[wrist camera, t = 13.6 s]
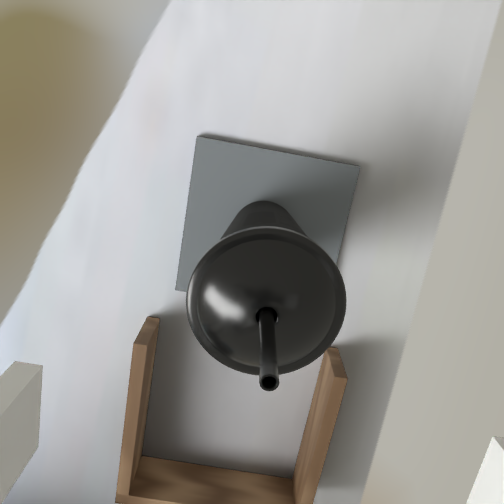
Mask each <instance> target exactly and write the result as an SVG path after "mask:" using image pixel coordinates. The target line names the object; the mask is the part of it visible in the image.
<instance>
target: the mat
mask: <svg viewBox="0 0 504 504" xmlns="http://www.w3.org/2000/svg"><path fill="white" fill-rule="evenodd" d="M359 171H360V166H356V165H351V164H345V163H340V162H334V161H329V160H324V159H318V158H313V157H308V156H302V155H297V154H291V153H286V152H281V151H275V150H270V149H265V148H259V147H254V146H248V145H243V144H238V143H232V142H227V141H222V140H216V139H211V138H205V137H200V136H197V138H196V145H195V152H194V160H193V167H192V174H191V181H190V188H189V195H188V202H187V209H186V217H185V224H184V231H183V238H182V245H181V252H180V259H179V266H178V274H177V281H176V288H175V290H178V291H184V292H187V288H188V284H189V280H190V277H191V275H192V272H193V270H194V268H195V266H196V265H197V263H198V261H199V260H200V259H201V257H202V256H203V255H204V254H205V252H206V251H207V250H208V249H209V248H210V247H212V246H213V245H214V244H215V243H216V242H218V241H219V240H220V239H221V237H222V236H223V234H224V233H225V231H226V230H227V228H228V227H229V225H230V224H231V222H232V221H233V219H234V218H235V217H236V215H237V214H238V212H239V211H240V210H241V209H242V208H244V207H245V206H246V205H248V204H250V203H253V202H257V201H270V202H274V203H277V204H279V205H280V206H282V207H283V208H285V209H286V210H287V211H288V213H289V214H290V215H291V216H292V218H293V219H294V220H295V221H296V223H297V224H298V225H299V226H300V228H301V229H302V230H303V231H304V232H305V234H306V235H307V236H308V237H309V238H310V239H312V240H313V241H315V242H316V243H317V244H319V245H320V246H321V247H322V248H323V249H324V250H325V251H326V252H327V253H328V254H329V255H330V256H331V258H332V259H333V261H334V262H335V264H336V263H337V259H338V255H339V251H340V247H341V243H342V239H343V235H344V231H345V227H346V223H347V219H348V215H349V211H350V207H351V203H352V199H353V195H354V191H355V187H356V183H357V179H358V175H359Z"/></svg>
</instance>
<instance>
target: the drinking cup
mask: <svg viewBox="0 0 504 504" xmlns="http://www.w3.org/2000/svg"><path fill="white" fill-rule="evenodd" d="M186 309H187V316H188V320H189V323H190V326H191V328H192V331H193V333H194V335H195V336H196V338H197V340H198V341H199V343H200V344H201V345H202V346H203V348H204V349H205V350H206V351H207V352H208V353H209V354H210V355H211V356H212V357H214V358H215V359H216V360H218V361H219V362H221V363H222V364H224V365H226V366H228V367H230V368H232V369H234V370H237V371H240V372H243V373H247V374H252V375H259V383H260V386H261V388H262V389H264V390H266V391H273V390H275V389H276V388H277V387H278V385H279V375H280V374H285V373H289V372H292V371H295V370H298V369H300V368H302V367H304V366H306V365H308V364H310V363H311V362H313V361H314V360H316V359H317V358H318V357H320V356H321V355H322V354H323V353H324V352H325V351H326V350H327V349H328V348H329V347H330V345H331V344H332V343H333V341H334V340H335V338H336V337H337V335H338V333H339V331H340V329H341V327H342V324H343V321H344V317H345V312H346V291H345V285H344V282H343V279H342V276H341V274H340V271H339V269H338V267H337V266H336V264H335V262H334V261H333V259H332V258H331V256H330V255H329V254H328V253H327V252H326V251H325V250H324V249H323V248H322V247H321V246H320V245H319V244H317V243H316V242H315V241H313V240H312V239H310V238H309V237H308V236H307V235H306V234H305V232H304V231H303V230H302V229H301V228H300V226H299V225H298V224H297V223H296V221H295V220H294V219H293V218H292V216H291V215H290V214H289V213H288V211H287V210H286V209H285V208H283V207H282V206H280V205H279V204H277V203H274V202H270V201H257V202H253V203H250V204H248V205H246V206H245V207H244V208H242V209H241V210H240V211H239V212H238V214H237V215H236V217H235V218H234V219H233V221H232V222H231V224H230V225H229V227H228V228H227V230H226V231H225V233H224V234H223V236H222V237H221V239H220V240H219V241H218V242H216V243H215V244H214V245H213V246H212V247H210V248H209V249H208V250H207V251H206V252H205V254H204V255H203V256H202V257H201V259H200V260H199V261H198V263H197V265H196V266H195V268H194V270H193V272H192V275H191V277H190V280H189V284H188V288H187V294H186Z"/></svg>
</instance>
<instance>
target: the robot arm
mask: <svg viewBox="0 0 504 504" xmlns="http://www.w3.org/2000/svg"><path fill="white" fill-rule="evenodd" d="M42 370H43V366H42V365H36V364H29V363H23V362H17V361H15V362H14V363H13V364H12V365H11V366H10V367H9V368H8V369H7V370H6V371H5V372H4V373H3V374H2V375H1V376H0V504H2V502H3V501H4V499H5V498H6V496H7V495H8V493H9V491H10V490H11V488H12V487H13V485H14V484H15V482H16V481H17V479H18V477H19V476H20V474H21V473H22V471H23V470H24V468H25V467H26V465H27V463H28V462H29V460H30V459H31V457H32V456H33V454H34V453H35V451H36V449H37V448H38V441H39V424H40V406H41V388H42ZM466 504H504V438H502V437H495V436H493V437H492V440H491V442H490V445H489V447H488V450H487V452H486V455H485V457H484V460H483V462H482V465H481V467H480V470H479V472H478V475H477V478H476V480H475V483H474V485H473V488H472V490H471V493H470V495H469V498H468V500H467V503H466Z"/></svg>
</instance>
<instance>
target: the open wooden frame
mask: <svg viewBox="0 0 504 504" xmlns="http://www.w3.org/2000/svg"><path fill="white" fill-rule="evenodd" d="M159 320H160V319H159V318H153V317H147V319H146V321H145V322H144V324H143V326H142V328H141V330H140V332H139V334H138V336H137V338H136V340H135V341H134V343H133V352H132V361H131V369H130V378H129V387H128V395H127V404H126V413H125V421H124V430H123V439H122V447H121V456H120V465H119V474H118V482H117V491H116V500H115V503H118V504H313V501H314V497H315V494H316V490H317V487H318V483H319V480H320V476H321V472H322V469H323V465H324V462H325V458H326V455H327V451H328V447H329V444H330V440H331V437H332V433H333V430H334V426H335V422H336V419H337V415H338V412H339V408H340V405H341V401H342V397H343V394H344V390H345V387H346V383H347V380H348V378H347V375H346V372H345V369H344V366H343V363H342V360H341V357H340V354H339V351H338V348H332V347H329V348H328V349H327V350H326V351H325V352H324V356H323V360H322V364H321V368H320V372H319V375H318V379H317V383H316V387H315V391H314V395H313V399H312V403H311V407H310V410H309V414H308V418H307V422H306V426H305V430H304V434H303V438H302V441H301V445H300V449H299V453H298V457H297V461H296V465H295V469H294V473H293V476H292V479H288V478H282V477H275V476H269V475H263V474H256V473H250V472H243V471H237V470H230V469H224V468H217V467H211V466H205V465H198V464H192V463H185V462H179V461H172V460H166V459H160V458H153V457H147V456H142V449H143V441H144V434H145V426H146V419H147V411H148V403H149V396H150V388H151V381H152V373H153V366H154V358H155V350H156V343H157V335H158V328H159Z"/></svg>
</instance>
